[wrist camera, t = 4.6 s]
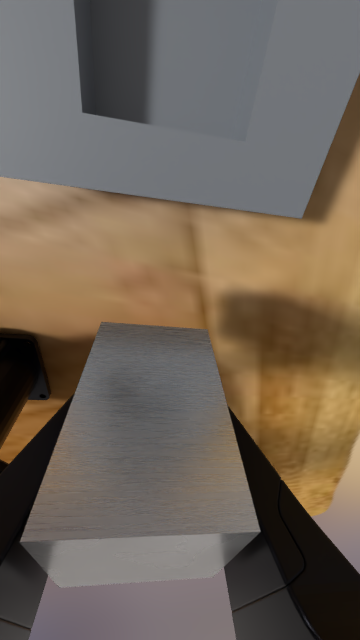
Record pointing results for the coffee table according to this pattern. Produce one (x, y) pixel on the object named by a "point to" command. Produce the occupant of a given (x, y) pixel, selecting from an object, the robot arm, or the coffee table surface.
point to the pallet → (177, 96)
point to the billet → (143, 467)
